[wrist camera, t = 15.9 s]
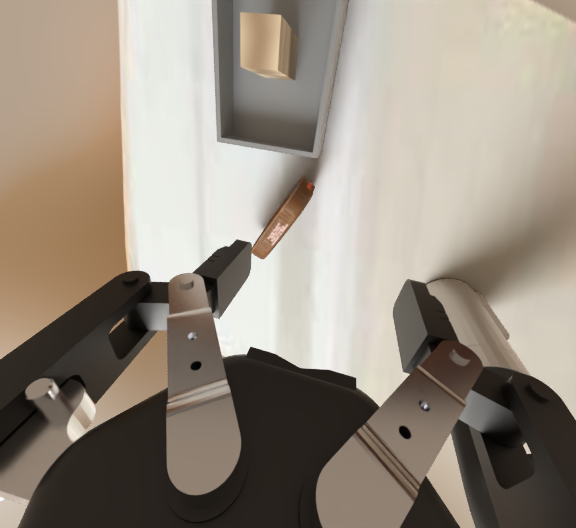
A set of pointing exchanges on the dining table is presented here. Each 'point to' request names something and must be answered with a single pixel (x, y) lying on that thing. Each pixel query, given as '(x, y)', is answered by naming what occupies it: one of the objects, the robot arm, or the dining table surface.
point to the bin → (276, 92)
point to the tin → (283, 218)
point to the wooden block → (268, 46)
